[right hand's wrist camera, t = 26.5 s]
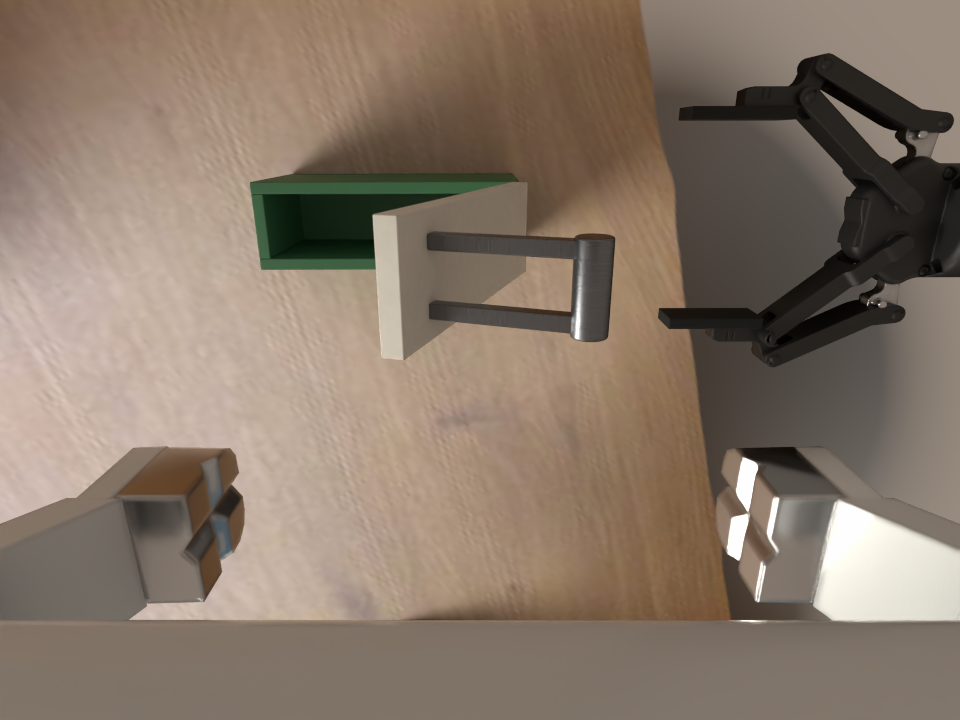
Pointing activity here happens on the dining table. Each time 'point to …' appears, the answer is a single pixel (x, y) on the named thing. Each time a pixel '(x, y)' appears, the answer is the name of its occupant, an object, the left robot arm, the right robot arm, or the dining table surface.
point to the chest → (341, 213)
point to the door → (478, 269)
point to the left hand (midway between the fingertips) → (673, 221)
